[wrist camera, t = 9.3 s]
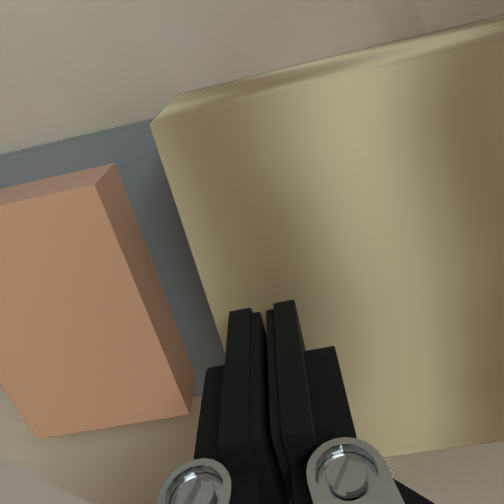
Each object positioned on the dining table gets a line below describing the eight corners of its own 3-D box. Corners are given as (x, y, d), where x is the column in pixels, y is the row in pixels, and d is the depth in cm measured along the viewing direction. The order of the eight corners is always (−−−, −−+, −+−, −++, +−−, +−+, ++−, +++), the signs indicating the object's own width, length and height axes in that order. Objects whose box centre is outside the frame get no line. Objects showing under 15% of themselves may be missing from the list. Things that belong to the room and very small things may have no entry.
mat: (182, 111, 13) (181, 113, 13) (260, 378, 18) (260, 384, 18) (-85, 175, 14) (-91, 178, 14) (59, 412, 19) (56, 418, 19)
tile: (-103, 228, 13) (-59, 202, 14) (37, 439, 17) (57, 398, 19) (94, 184, 12) (114, 162, 14) (189, 414, 16) (195, 375, 18)
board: (773, -51, 11) (1006, -80, 8) (675, 319, 17) (786, 400, 13) (177, 94, 13) (149, 123, 10) (263, 387, 19) (265, 474, 15)
